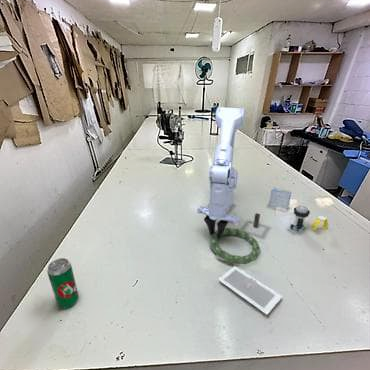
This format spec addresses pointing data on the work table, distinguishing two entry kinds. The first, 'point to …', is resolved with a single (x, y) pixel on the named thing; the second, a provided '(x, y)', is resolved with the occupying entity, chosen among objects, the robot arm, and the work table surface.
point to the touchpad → (251, 289)
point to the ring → (233, 258)
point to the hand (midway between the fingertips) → (215, 235)
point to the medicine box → (280, 197)
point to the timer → (320, 218)
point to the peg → (256, 220)
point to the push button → (299, 218)
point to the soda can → (63, 283)
